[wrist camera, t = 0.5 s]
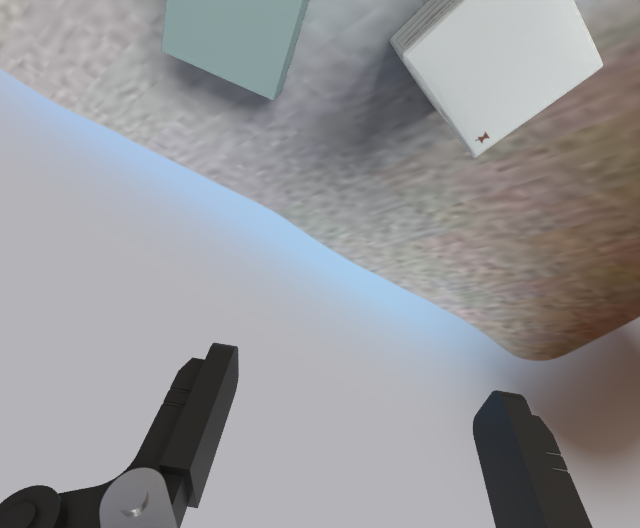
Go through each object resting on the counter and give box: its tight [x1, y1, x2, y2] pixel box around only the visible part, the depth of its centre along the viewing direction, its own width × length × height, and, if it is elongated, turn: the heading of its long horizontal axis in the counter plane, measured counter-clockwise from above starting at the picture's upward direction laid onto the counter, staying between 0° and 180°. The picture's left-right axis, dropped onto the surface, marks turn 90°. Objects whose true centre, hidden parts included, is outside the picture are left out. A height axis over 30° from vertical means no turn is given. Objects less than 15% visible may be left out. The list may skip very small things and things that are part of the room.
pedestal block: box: [161, 0, 309, 100], centre depth 27 cm, size 9×9×4 cm
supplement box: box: [390, 0, 603, 158], centre depth 23 cm, size 7×7×13 cm
